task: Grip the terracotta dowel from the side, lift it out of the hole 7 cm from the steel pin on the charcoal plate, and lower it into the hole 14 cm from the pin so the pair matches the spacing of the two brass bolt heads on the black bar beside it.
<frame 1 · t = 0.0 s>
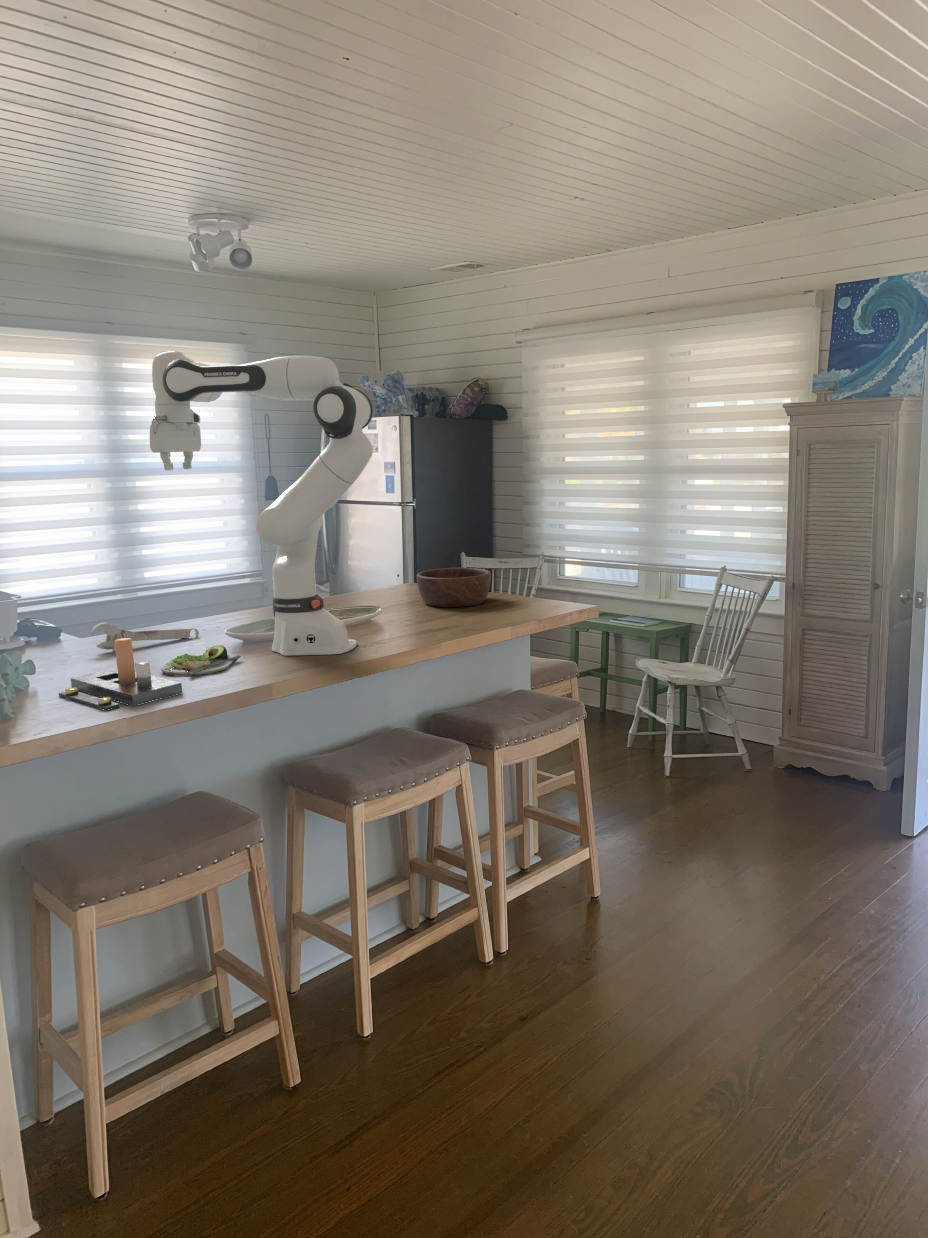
hand: (178, 469, 238), 48 cm above the worktop, tool pointing down, fingers open, 8 cm apart
wooden bowl: (454, 603, 302), on the worktop
salad plate: (200, 669, 224), on the worktop
dowel: (128, 691, 202), resting in hole plate
wrench: (148, 646, 251), on the worktop
hole plate: (126, 691, 203), on the worktop
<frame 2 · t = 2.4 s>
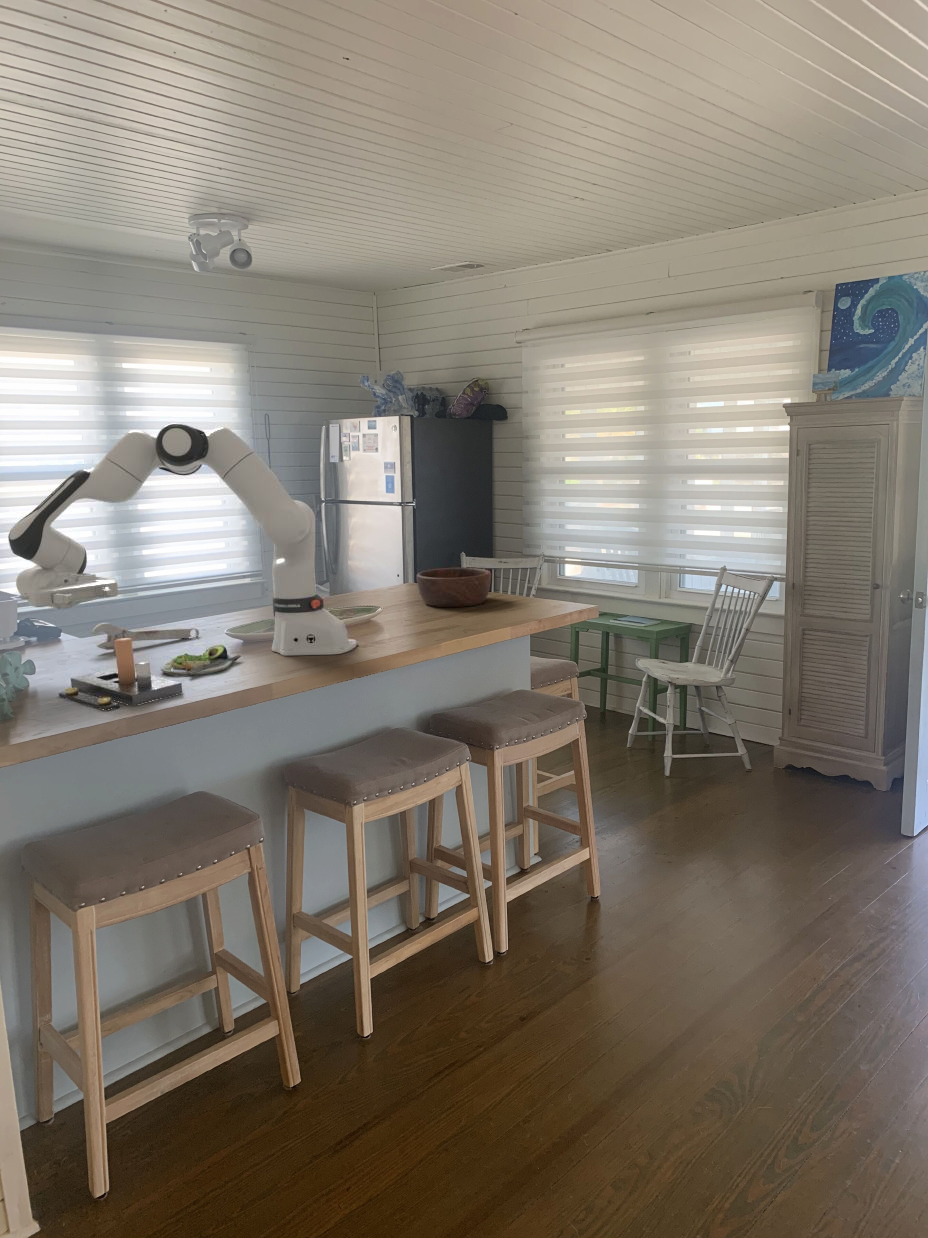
hand: (90, 596, 206), 21 cm above the worktop, tool horizontal, fingers open, 8 cm apart
nothing on the worktop moved.
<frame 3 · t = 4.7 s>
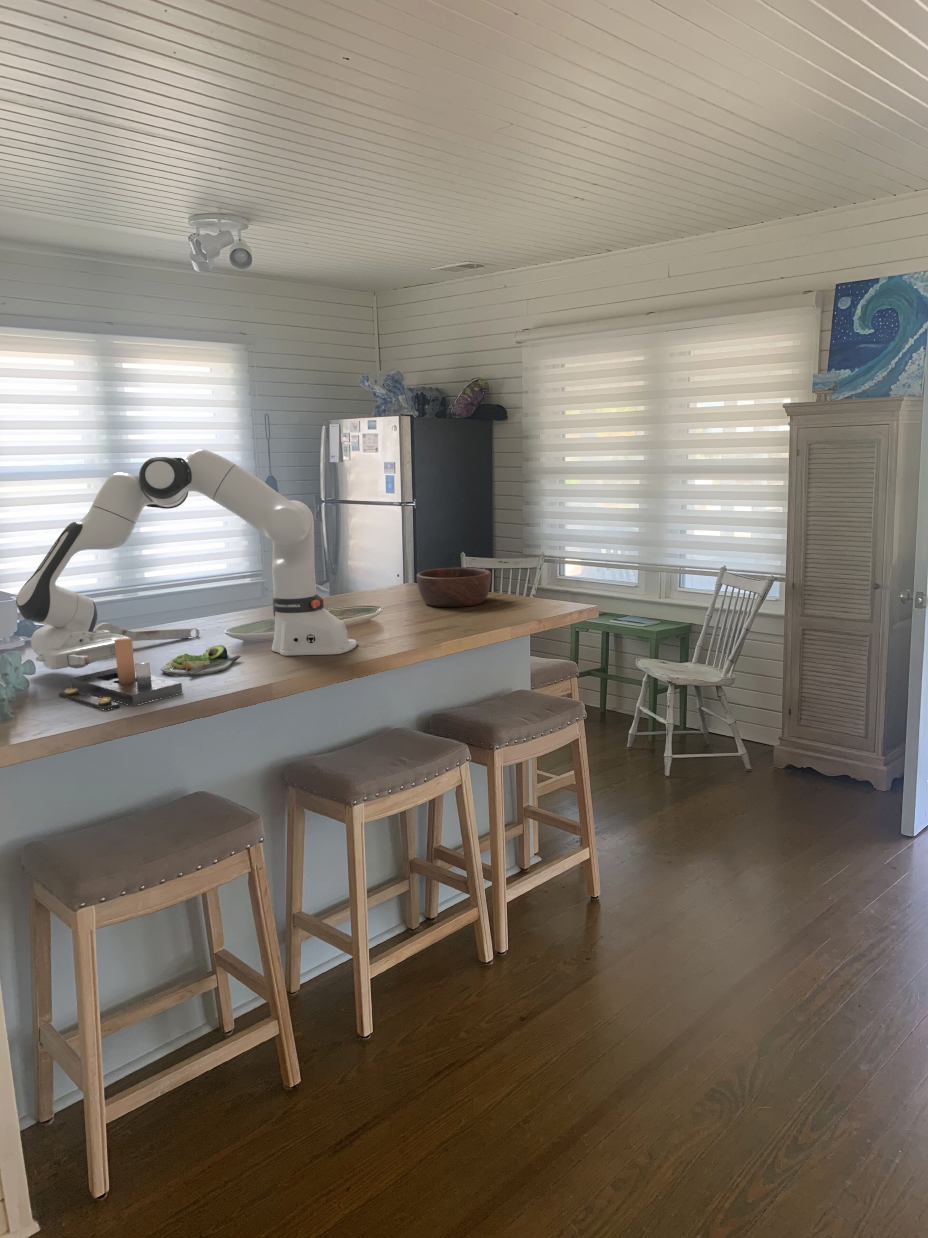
hand: (105, 656, 206), 7 cm above the worktop, tool horizontal, fingers open, 8 cm apart
nothing on the worktop moved.
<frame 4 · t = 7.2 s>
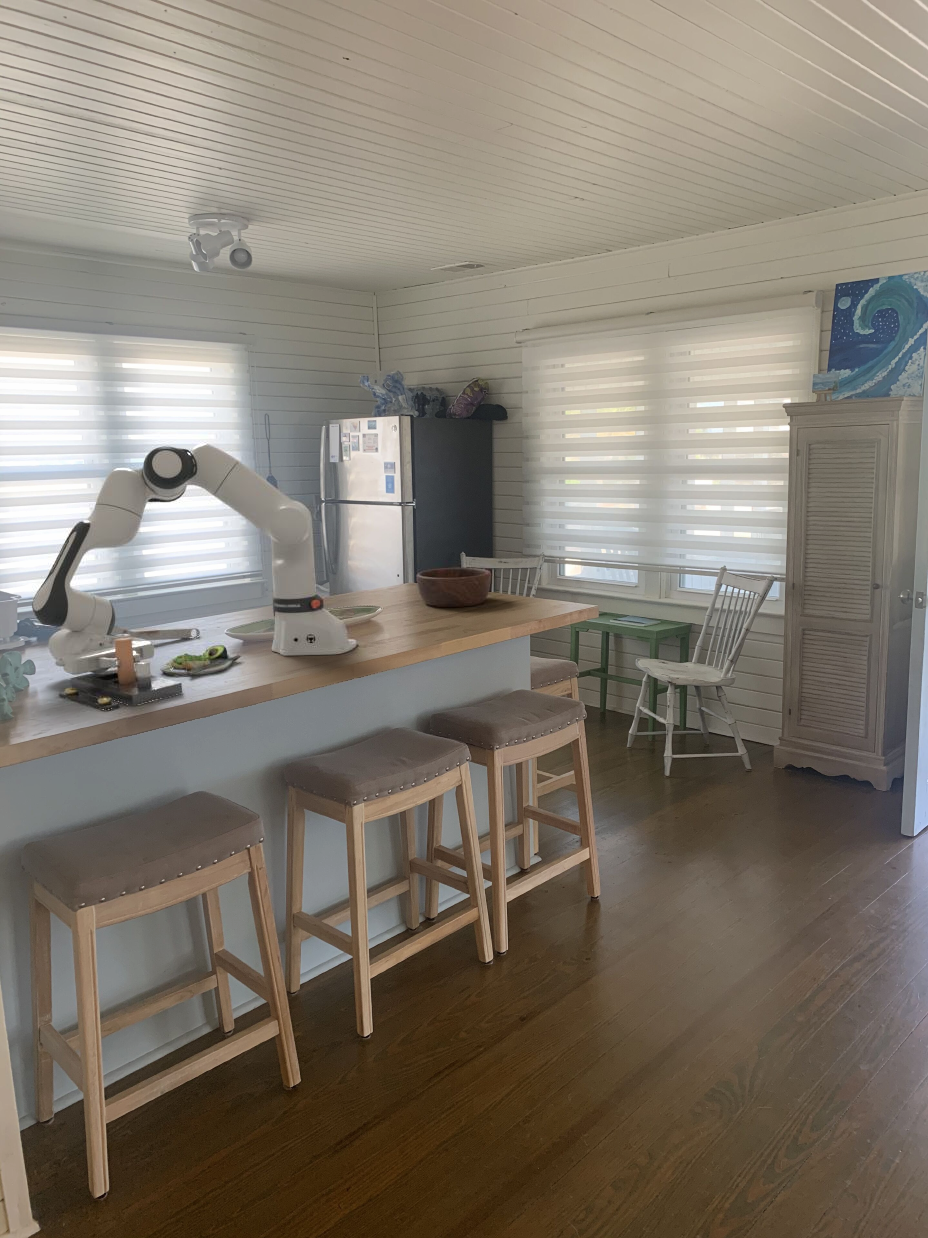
hand: (127, 661, 200), 7 cm above the worktop, tool horizontal, fingers closed on dowel, 4 cm apart
dowel: (128, 691, 202), resting in hole plate, touching gripper
everything else where it was.
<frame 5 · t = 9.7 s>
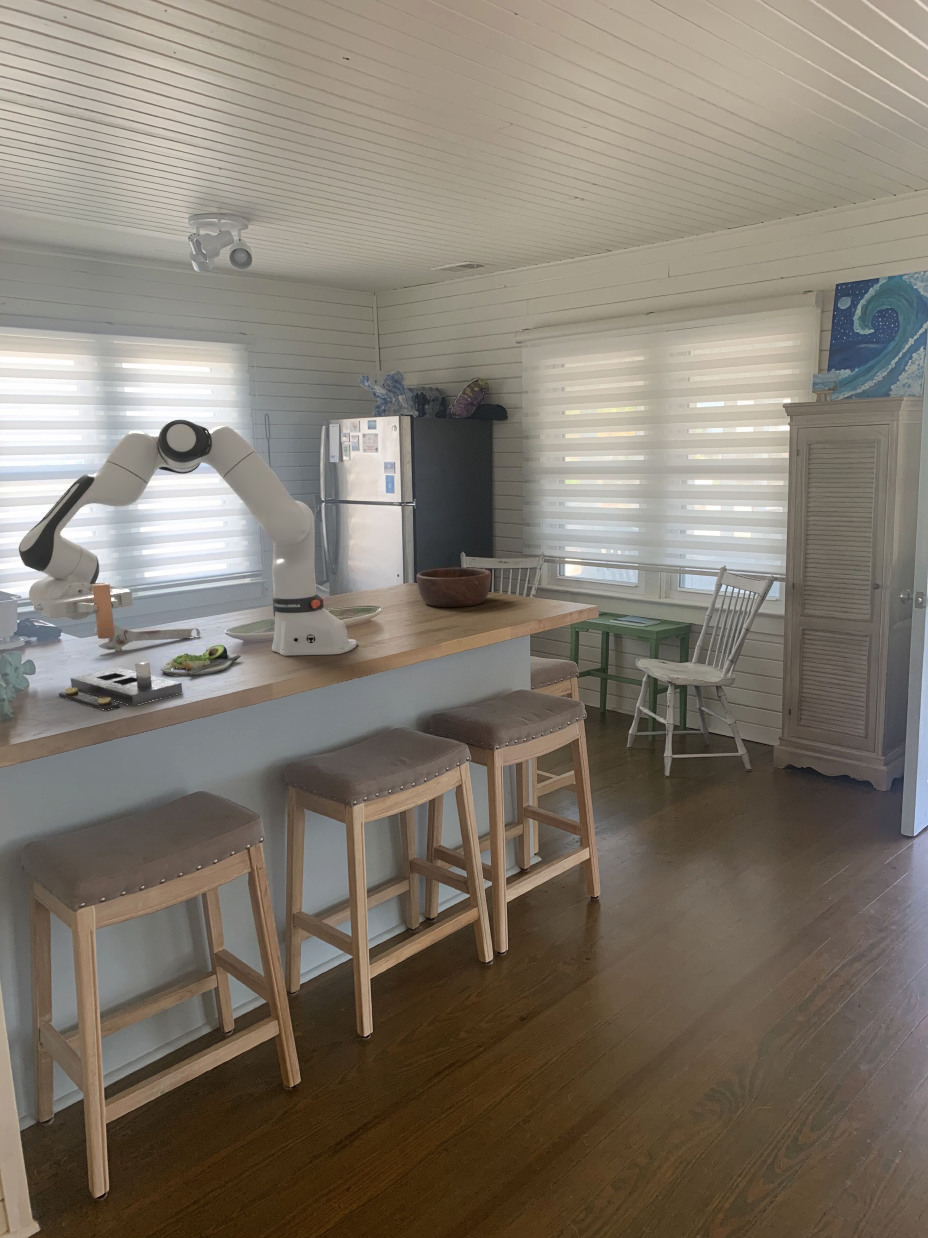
hand: (105, 606, 202), 19 cm above the worktop, tool horizontal, fingers closed on dowel, 4 cm apart
dowel: (106, 637, 204), point 12 cm above the worktop, touching gripper
everything else where it was.
when the fingers open (8 cm above the worktop, at t = 12.7 s): dowel stays where it is, resting in hole plate.
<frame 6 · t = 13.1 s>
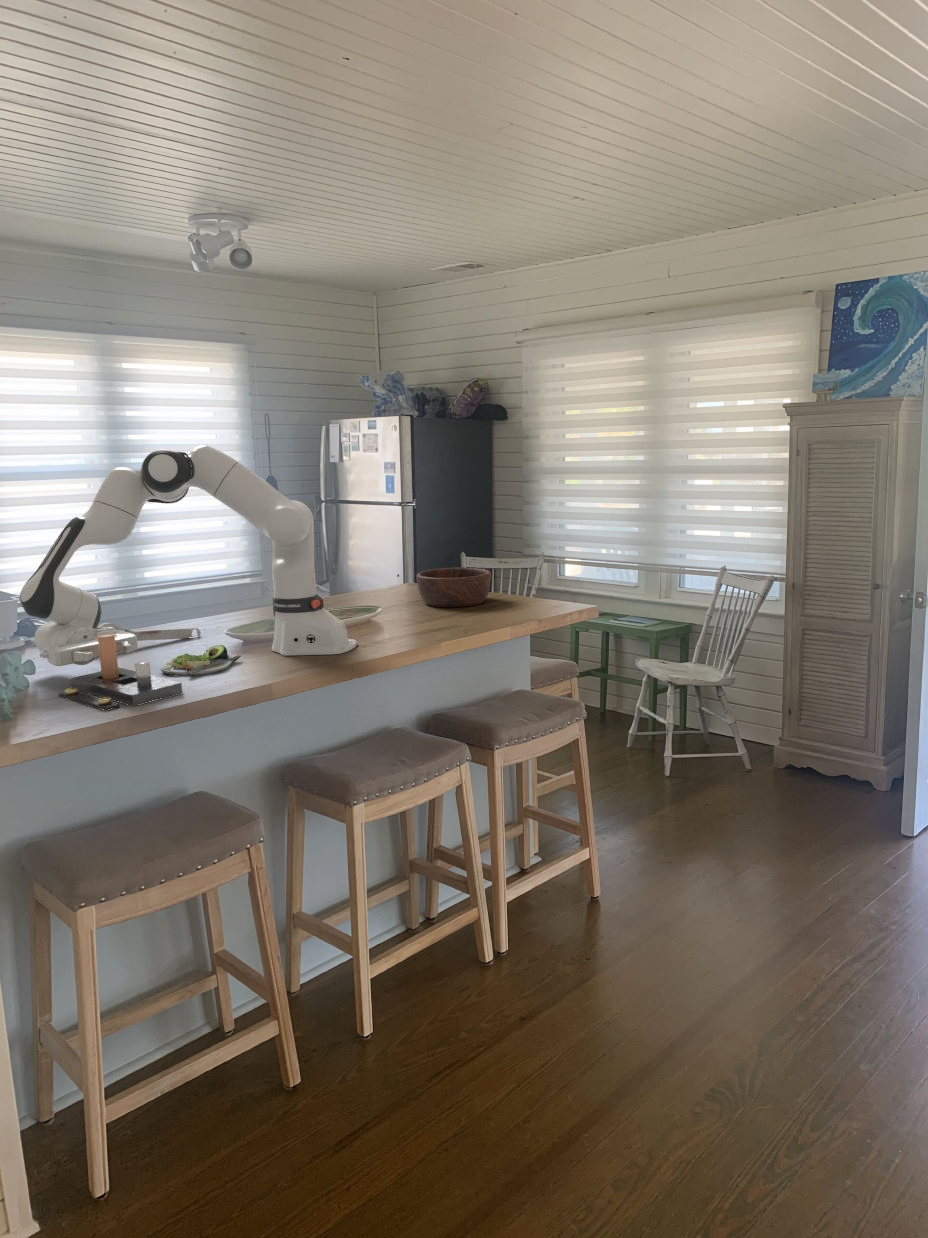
hand: (110, 653, 205), 8 cm above the worktop, tool horizontal, fingers open, 8 cm apart
dowel: (111, 687, 207), resting in hole plate
everything else where it was.
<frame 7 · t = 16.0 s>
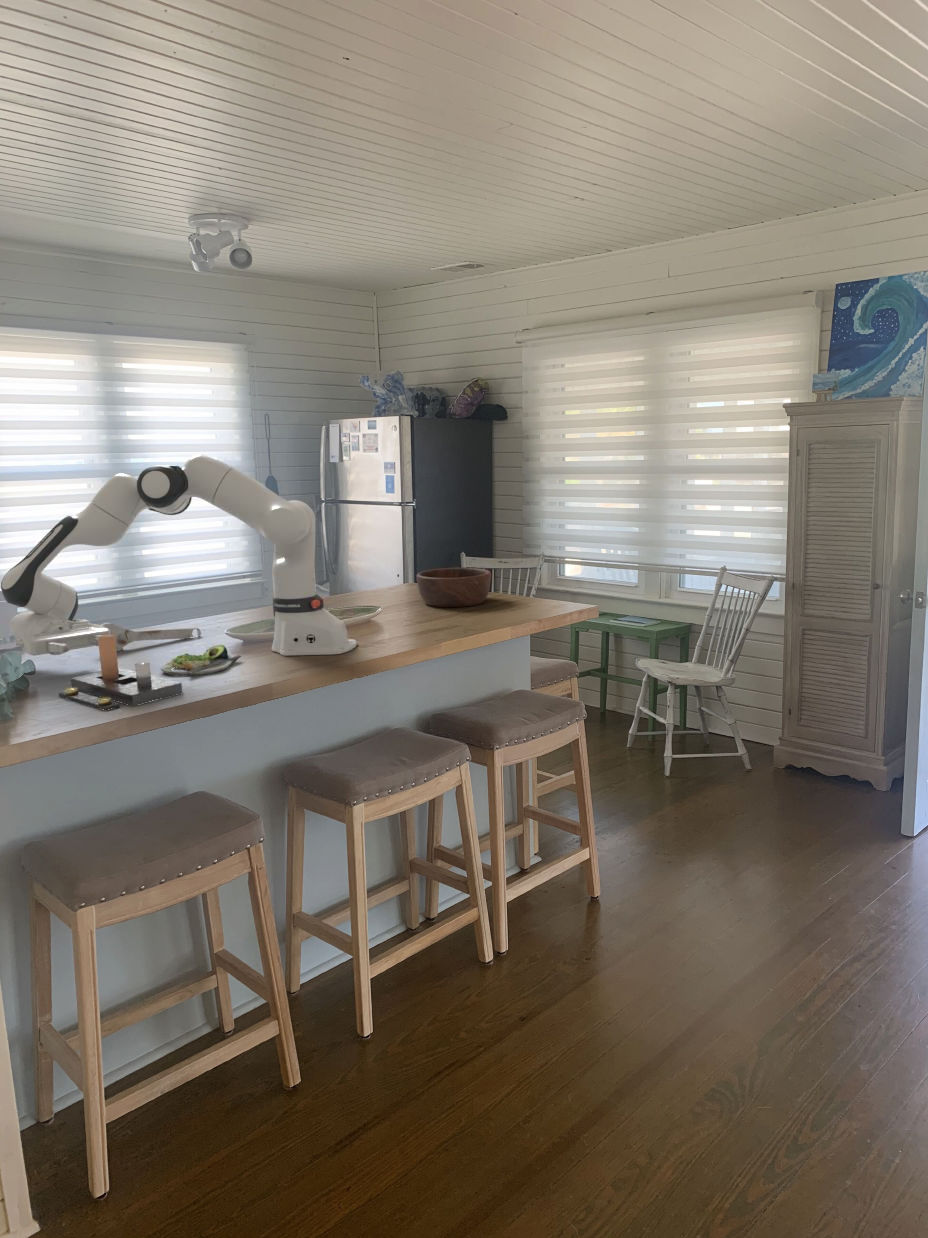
hand: (84, 645, 213), 8 cm above the worktop, tool horizontal, fingers open, 8 cm apart
nothing on the worktop moved.
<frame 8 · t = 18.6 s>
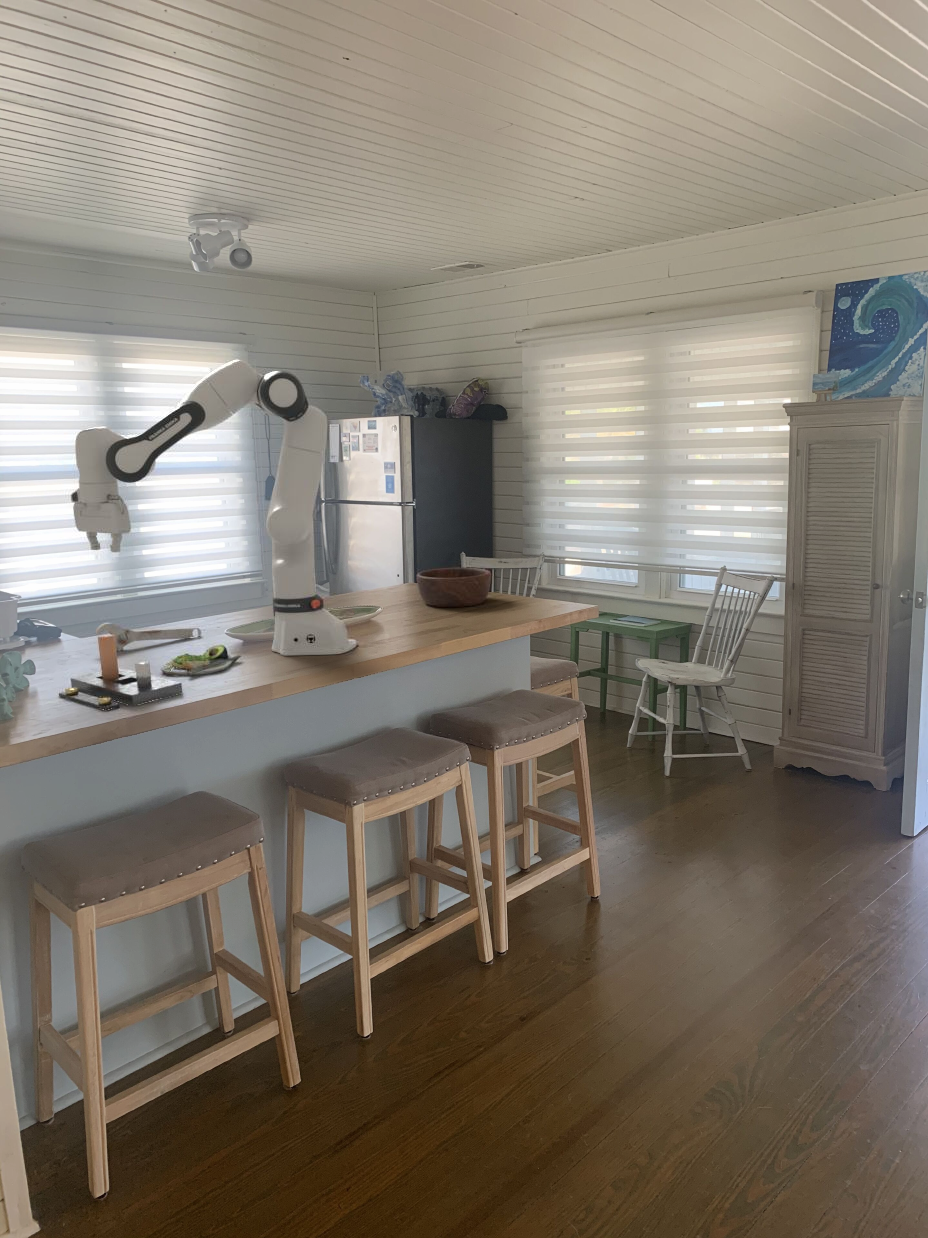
hand: (105, 550, 223), 29 cm above the worktop, tool pointing down, fingers open, 8 cm apart
nothing on the worktop moved.
at the end: dowel 0.1 cm from the target spot on the hole plate, point 0.0 cm above the hole plate's base; dowel tilted 0°; the gripper is holding nothing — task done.
